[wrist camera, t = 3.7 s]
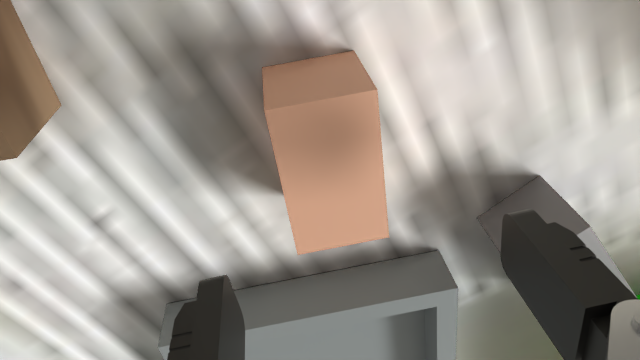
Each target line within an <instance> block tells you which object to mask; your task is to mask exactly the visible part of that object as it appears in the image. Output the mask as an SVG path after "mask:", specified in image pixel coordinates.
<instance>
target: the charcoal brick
mask: <svg viewBox="0 0 640 360" xmlns="http://www.w3.org/2000/svg"><path fill="white" fill-rule="evenodd" d="M527 209H533V210H535V211H536V212H537V213H538V215H539V216H540V217H541V218H542V219H543V220H544V221H545V222H546V223H547V224H549V223H553V222H556V223H558V224H560V225H561V226H563V227H565V228H567V229H569V230H571V231H573V232H574V233H575V234H576V235H577V236H578V237H579V238H580V239H581V240H582V241H583V243H584V244H585V245H586V247H587V248H589V249H590V250H591V251H592V252H593V253H594V254H595V255H596V258H597V259H598V258H599V259H600V260H601V261H602V262H603V263H604V264H605V265H606V266H607V267H608V268H609V270H610V271H611V272H612V273H613V274H614V275H615V276H616V277H617V278H618V279H619V280H620V281H621V282H622V283H623V284H624V285H625V286H626V287H627V288H628V289H629V290H630V291H631V292H632V293H633V294H634V292H633V290H632V289H631V287H630V286H629V284H628V283H627V281H626V280H625V278H624V277H623V275H622V274H621V272H620V271H619V269H618V268H617V266H616V265H615V263H614V262H613V260H612V258H611V257H610V255H609V254H608V252H607V251H606V249H605V248H604V246H603V245H602V243H601V242H600V240H599V239H598V237H597V236H596V234H595V233H594V231H593V229H592V228H591V226H590V225H589V224H588V223H587V222H586V221H585V220H584V219H583V218H582V217H581V216H580V215H579V214H578V213H577V212H576V211H575V210H574V209H573V208H572V207H571V206H570V205H569V204H568V203H567V202H566V201H565V200H564V199H563V198H562V197H561V196H560V195H559V194H558V193H557V192H556V191H555V190H554V189H553V188H552V187H551V186H550V185H549V184H548V183H547V182H546V181H545V180H544V179H543V178H542V177H541V176H538V177H537V178H535V179H534V180H532V181H531V182H529V183H528V184H526V185H525V186H523V187H522V188H520V189H519V190H517V191H516V192H514V193H513V194H512V195H510V196H509V197H507V198H506V199H504V200H503V201H501V202H500V203H498V204H497V205H495V206H494V207H492V208H491V209H489V210H488V211H486V212H485V213H483V214H482V215H480V216H479V217H477V219H478V221H479V222H480V224H481V225H482V227H483V228H484V230H485V231H486V232H487V234H488V235H489V237H490V238H491V240H492V241H493V243H494V244H495V246H496V247H497V249H498V250H499V252H500V253H501V236H502V219H503V216H504V215H505V214H508V213H513V212H517V211H522V210H527ZM634 295H635V294H634ZM635 296H636V295H635ZM636 298H637V297H636Z"/></svg>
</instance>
